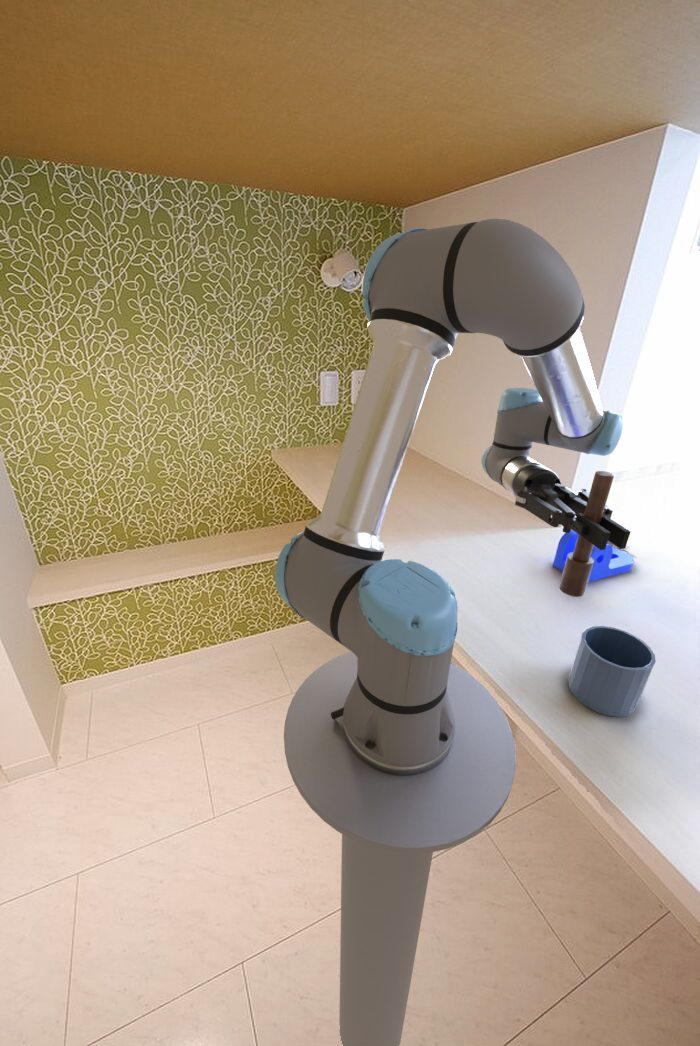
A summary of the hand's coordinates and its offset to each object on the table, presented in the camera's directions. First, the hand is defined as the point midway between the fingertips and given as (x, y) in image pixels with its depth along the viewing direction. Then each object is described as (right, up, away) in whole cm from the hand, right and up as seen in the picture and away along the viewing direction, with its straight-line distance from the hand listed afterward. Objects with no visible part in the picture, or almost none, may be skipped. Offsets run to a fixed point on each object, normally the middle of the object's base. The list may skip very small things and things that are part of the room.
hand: (615, 540), depth 61 cm
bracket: (+20, -8, +41) cm, 46 cm away
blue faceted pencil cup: (+2, -24, +6) cm, 25 cm away
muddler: (-1, -8, +10) cm, 13 cm away
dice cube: (+29, -3, +51) cm, 58 cm away
